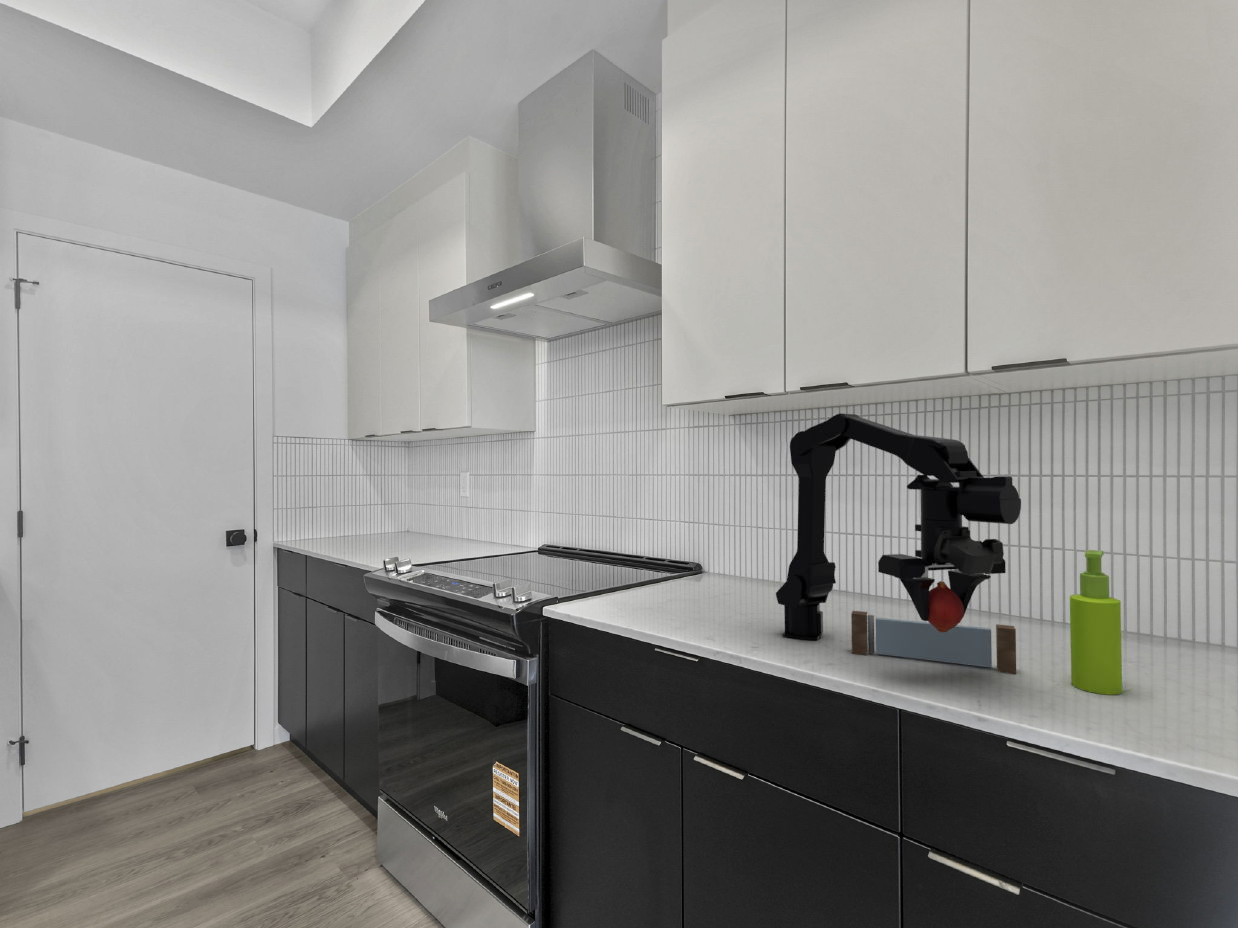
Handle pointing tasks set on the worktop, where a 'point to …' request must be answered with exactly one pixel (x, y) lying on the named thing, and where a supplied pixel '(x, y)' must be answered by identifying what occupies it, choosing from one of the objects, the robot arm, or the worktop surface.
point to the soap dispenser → (1095, 632)
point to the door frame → (1003, 642)
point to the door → (930, 641)
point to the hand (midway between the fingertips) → (942, 619)
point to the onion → (944, 608)
